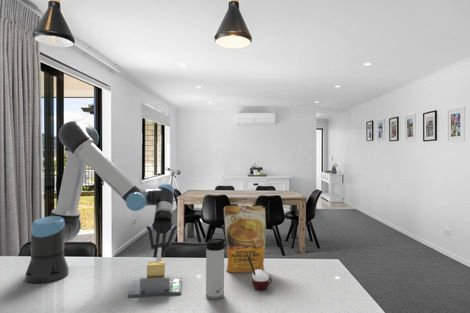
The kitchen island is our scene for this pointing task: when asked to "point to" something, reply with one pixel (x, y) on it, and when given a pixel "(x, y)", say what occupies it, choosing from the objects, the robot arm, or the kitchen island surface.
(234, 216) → the pancake mix bag
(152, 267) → the brushed brass block
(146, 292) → the gauge bed
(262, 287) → the cocoa
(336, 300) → the kitchen island surface
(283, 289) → the kitchen island surface
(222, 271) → the travel mug
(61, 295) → the kitchen island surface
